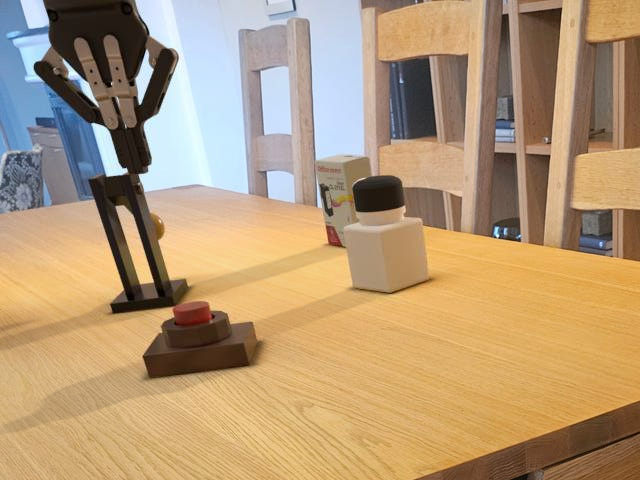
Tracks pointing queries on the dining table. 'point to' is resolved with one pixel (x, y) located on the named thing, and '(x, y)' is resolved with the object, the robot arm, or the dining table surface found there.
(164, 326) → the block
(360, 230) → the medicine bottle
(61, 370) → the dining table surface
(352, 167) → the ink box
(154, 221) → the ball knob lever
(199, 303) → the release button
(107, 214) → the bracket
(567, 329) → the dining table surface
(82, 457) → the dining table surface
